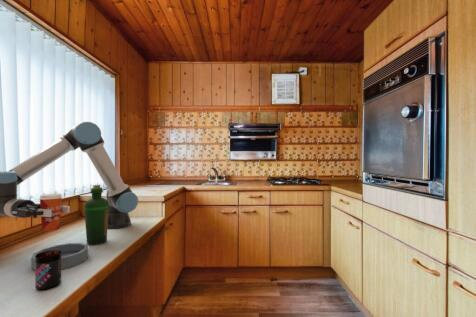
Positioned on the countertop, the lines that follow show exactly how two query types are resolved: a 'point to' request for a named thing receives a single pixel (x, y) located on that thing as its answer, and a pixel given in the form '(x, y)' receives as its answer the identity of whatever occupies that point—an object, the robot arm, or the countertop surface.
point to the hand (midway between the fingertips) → (60, 211)
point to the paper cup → (52, 204)
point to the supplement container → (47, 270)
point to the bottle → (96, 217)
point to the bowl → (67, 254)
